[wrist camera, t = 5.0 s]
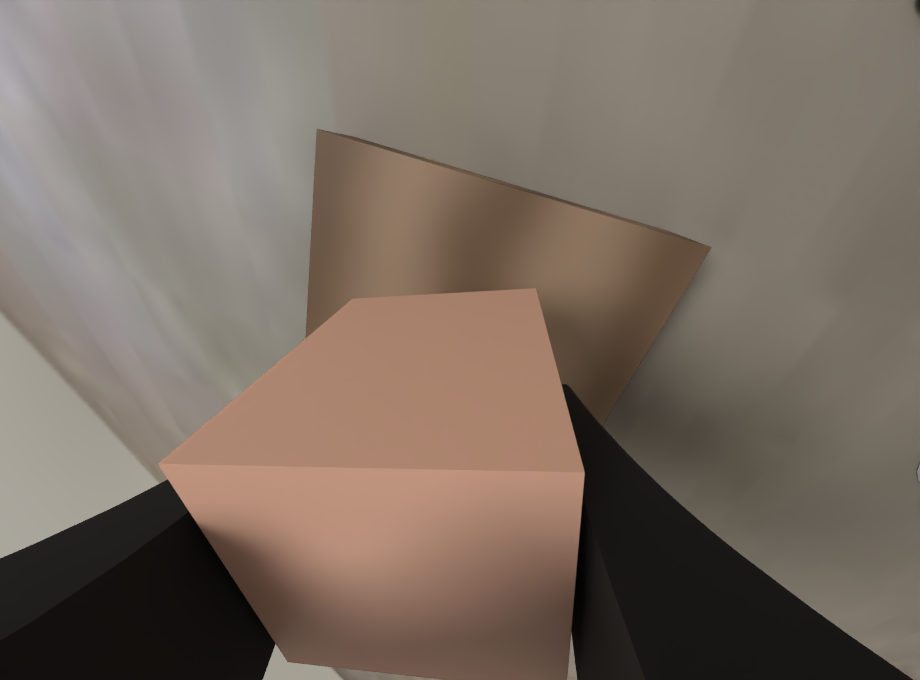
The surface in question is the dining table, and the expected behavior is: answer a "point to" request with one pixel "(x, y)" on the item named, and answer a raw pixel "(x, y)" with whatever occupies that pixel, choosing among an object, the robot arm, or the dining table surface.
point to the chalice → (918, 473)
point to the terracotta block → (402, 491)
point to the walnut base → (494, 256)
